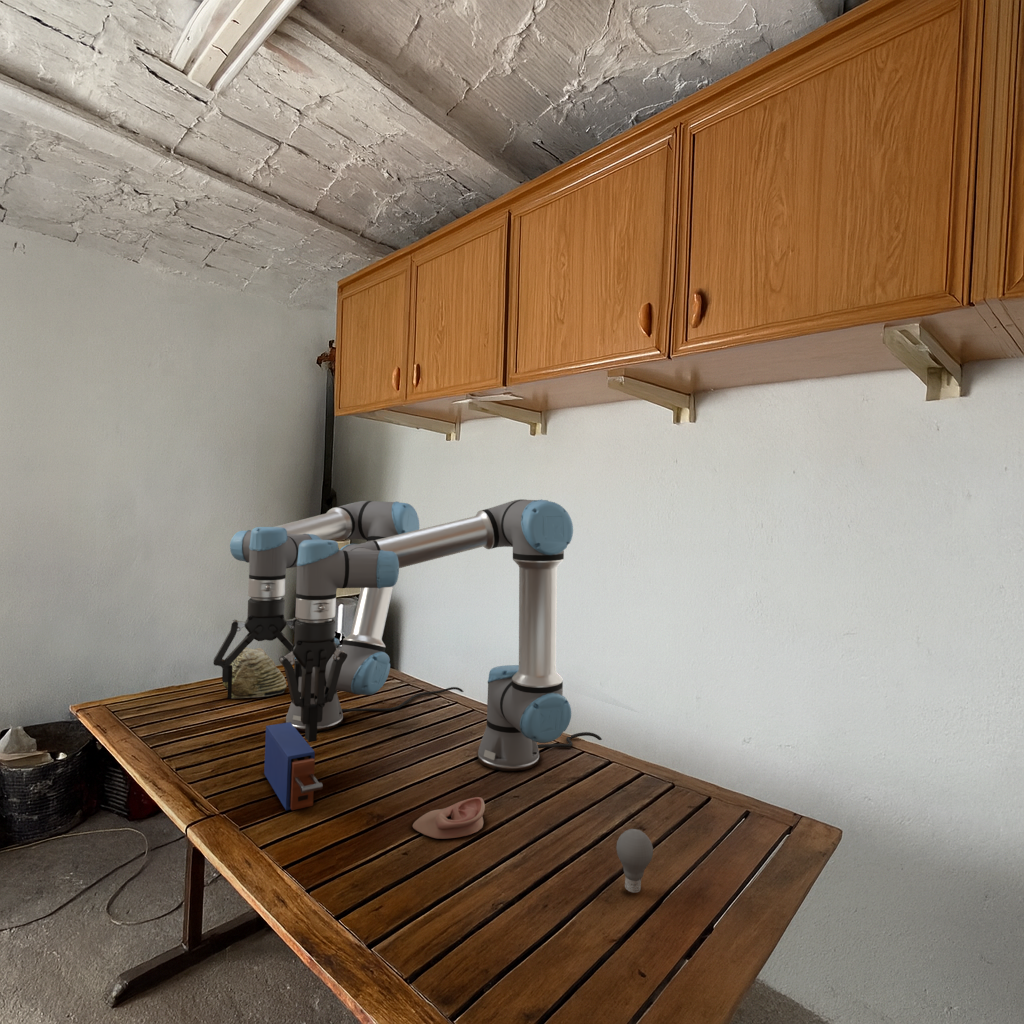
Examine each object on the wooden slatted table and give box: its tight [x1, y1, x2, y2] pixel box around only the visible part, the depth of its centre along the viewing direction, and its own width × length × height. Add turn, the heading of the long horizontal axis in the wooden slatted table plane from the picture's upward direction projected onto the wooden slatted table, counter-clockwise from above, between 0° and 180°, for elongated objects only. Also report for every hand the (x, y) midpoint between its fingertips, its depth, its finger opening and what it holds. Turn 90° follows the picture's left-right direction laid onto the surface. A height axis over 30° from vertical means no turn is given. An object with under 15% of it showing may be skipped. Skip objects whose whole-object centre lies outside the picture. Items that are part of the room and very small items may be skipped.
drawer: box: [290, 756, 323, 811], centre depth 132 cm, size 24×4×9 cm, turn 34°
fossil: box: [222, 646, 288, 699], centre depth 198 cm, size 9×18×15 cm, turn 132°
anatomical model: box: [412, 796, 486, 840], centre depth 124 cm, size 13×4×12 cm
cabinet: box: [263, 722, 316, 811], centre depth 137 cm, size 19×5×11 cm, turn 34°
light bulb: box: [615, 828, 654, 894], centre depth 106 cm, size 6×6×10 cm
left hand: (263, 694), depth 139 cm, fingers open, 13 cm apart
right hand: (310, 739), depth 124 cm, fingers closed
